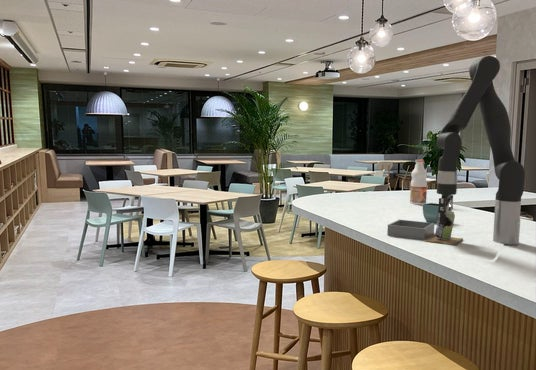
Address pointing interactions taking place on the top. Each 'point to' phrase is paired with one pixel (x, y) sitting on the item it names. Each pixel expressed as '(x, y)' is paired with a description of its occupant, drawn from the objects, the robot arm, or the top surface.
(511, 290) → the top surface
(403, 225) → the bin
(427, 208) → the flower pot
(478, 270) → the top surface
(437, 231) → the beverage can
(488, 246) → the top surface
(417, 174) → the fruit juice
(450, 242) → the pad
